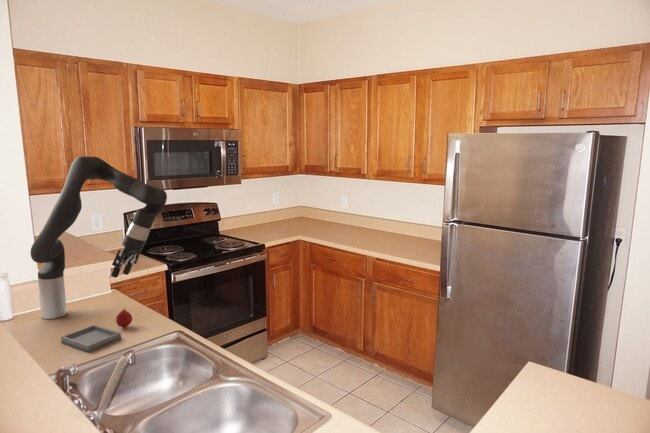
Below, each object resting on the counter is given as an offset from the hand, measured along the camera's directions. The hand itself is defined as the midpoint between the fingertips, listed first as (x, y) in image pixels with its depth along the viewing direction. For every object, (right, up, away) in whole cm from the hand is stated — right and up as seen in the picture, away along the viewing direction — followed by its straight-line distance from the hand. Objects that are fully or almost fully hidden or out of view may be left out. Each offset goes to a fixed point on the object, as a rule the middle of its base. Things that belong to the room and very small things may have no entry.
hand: (119, 275), depth 165 cm
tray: (-9, -24, -2) cm, 26 cm away
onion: (-3, -23, +10) cm, 25 cm away
